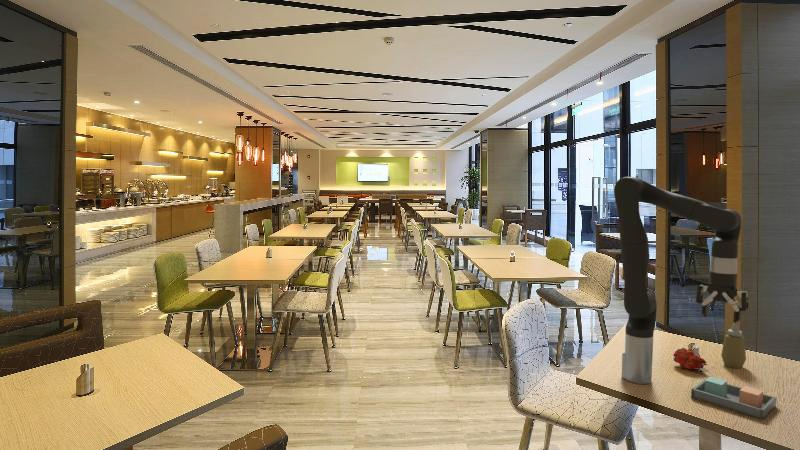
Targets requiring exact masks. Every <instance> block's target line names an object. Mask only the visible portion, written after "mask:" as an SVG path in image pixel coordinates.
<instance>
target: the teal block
mask: <svg viewBox="0 0 800 450" xmlns="http://www.w3.org/2000/svg"><path fill="white" fill-rule="evenodd" d="M707 378H708V379H707ZM707 378H705V379H706V380H705V379H704V380H705V391H704V392H707V393H710V394H713V395H717V396H720V397H723V398H724V397H725V396H726V395H727V384H728V381H727V380H724V379H722V378H717V377H714V376H710V377H707Z"/></svg>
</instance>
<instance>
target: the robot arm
mask: <svg viewBox="0 0 800 450" xmlns="http://www.w3.org/2000/svg"><path fill="white" fill-rule="evenodd" d="M613 196H614V199H615V205H616V210H617V215H618V217H617V218H618V230H619V243H620V244H619V245H620V253H621V255H620V256H621V262H622V263H621V265H622V271H623V283H624V284H623V285H624V287H623V291H624V292H623V306H624V310H625V311H626V313H627V314H628V320H627V322H626V324H625V337H624V338H625V340H624V341H625V342H624V351H623V352H622V355H621V378H623V379H625V380H626V381H628V382H631V383H634V384H638V385H647V384H651V383H652V380H653V379H652V377H653V353H654V333H655V328H656V323H657V322H656V320H657V310H658V309H657V307H658V305H657V300H656V297H655V295H653V293H651V292H650V291H648V288H647V274H648V268H649V260H650V247H649V246H650V245H649V244H650V243H649V238H648V235H647V234H648V233H647V232H646V231H647V230H646V228H645V226H644V224H643V221H642V218H641V216H640V215H641V214H640V203H645V204H650V205H653V206H656V207H657V208H660V209H663V210H664V211H667V212H668V213H670V214H673V215H675V216H677V217H680V218H683V219H687V220H689V221H693V222H697V223H699V224H700V225H702V226H705V227H707V228H710V229H711V230H715V234H714V235H715V236H714V238H713V241H712V243H711V253H710V255H711V256H710V261H709V276H708V286H707V285H704V284H700V285H697V287H696V288H697V289H696V296H695V302H696V303H698V304H700V305H701V314H702V315H703V317H704V318H707V317H709V314H710V313H709V309H710V305H709V304H710V303H711V302H712V301H715V302H722V303H728V304H729V306H731V307H732V308H733V310H734V311H733V321H732V322H734V323H739V321H741V315H742V312H746V311H747V310H749V307H750V305H749V291H747V290H745V291H741V290H738V289H737V285H738V271H739V268H738V267H739V265H738V264H739V262H738V251H739V246H738V245H739V239H740V234H741V229H742V217H741V215H740V214H739V212H737V211H736V210H734V209H730V208H729V209H728V208H727V209H726V208H725V209H723V208H719V207H717V206H713V205H710V204H708V203H707V202H705V201H703V200H699V199H696V198H692V197H689V196H686V195H683V194H679V193H674V192H671V191H669V190H665V189H662V188H660V187H658V186H656V185H653V184H651V183H649V182H648V181H645V180H644V179H641V178H639V177H637V176H624V177H621V178H619V179H618V180H617V181H616V182H615V184H614V186H613ZM706 291H707V293H709V296H707V297H706V299H704V292H706ZM736 296H739V298H740V299H741V300H740V301H741V305H740V303H739V302H738V300H737V299H736V298H735V297H736Z"/></svg>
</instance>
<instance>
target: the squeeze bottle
mask: <svg viewBox="0 0 800 450" xmlns="http://www.w3.org/2000/svg"><path fill="white" fill-rule="evenodd" d="M732 322H733V321H732ZM738 323H739V322H737V323H734V322H733V323H732V325H731V328H729V329H728V330H727V334H724V339H723V344H722V349H721V358H722V362H723V364H724V366H726V367H729V368H731V369H732V368H733V369H742V368H743V367H744V364H745V362H746V360H747V354H746V353H747V352H746V338H745V337H744V336H743V330H742V331H741V330H739V329H740V328H739V324H738Z"/></svg>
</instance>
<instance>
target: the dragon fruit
mask: <svg viewBox="0 0 800 450" xmlns="http://www.w3.org/2000/svg"><path fill="white" fill-rule="evenodd" d="M694 352H695V350H693V349H692V348H691V349H690V348H689V349H687V348H685V347H682V348H678V349H676V350H675V351H674V353H673V358H672V359H673V361H674V362H675V363H678V364H679V365H680V367H681V369H685V368H686V369H688V370H689V371H691V372H699V370H698V369H702V370H703V369H704V367H705V366H707V365H708V364H707V363H708V362H707V361H706V360H705V359H704V358H703V357H701V355H700V354H699V353H698V355H699V356H697V355H696V354H695V353H696V352H695V353H694Z"/></svg>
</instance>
